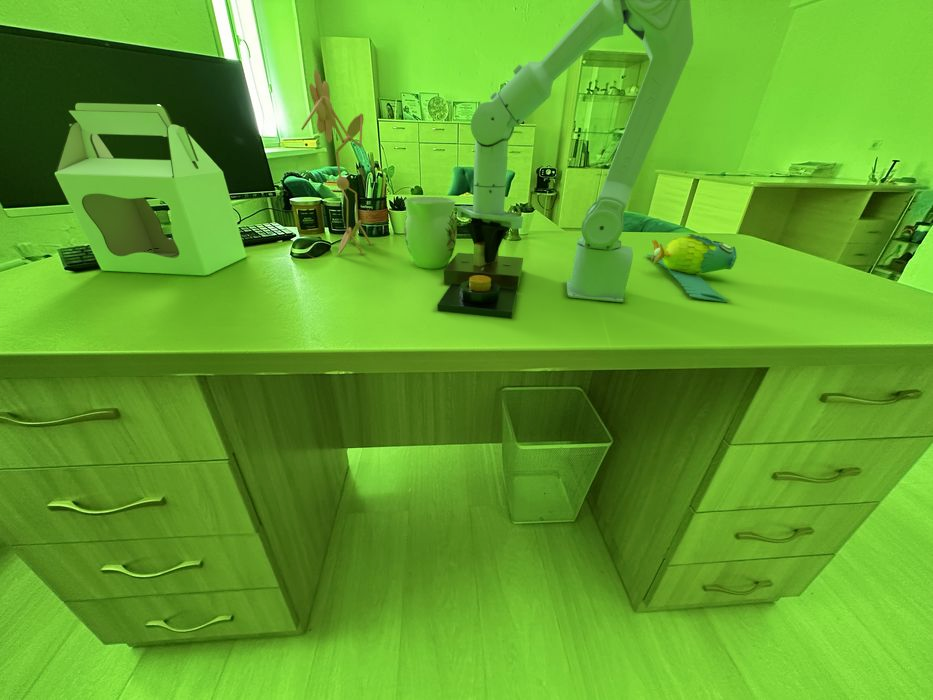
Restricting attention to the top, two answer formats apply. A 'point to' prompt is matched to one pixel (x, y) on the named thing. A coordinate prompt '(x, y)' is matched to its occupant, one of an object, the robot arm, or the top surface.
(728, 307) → the top surface
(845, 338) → the top surface
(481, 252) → the tan block
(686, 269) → the toy bird
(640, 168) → the robot arm
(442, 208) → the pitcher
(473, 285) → the button
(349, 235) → the figurine
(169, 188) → the gable box
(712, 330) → the top surface
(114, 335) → the top surface
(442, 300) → the button box
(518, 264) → the panel
